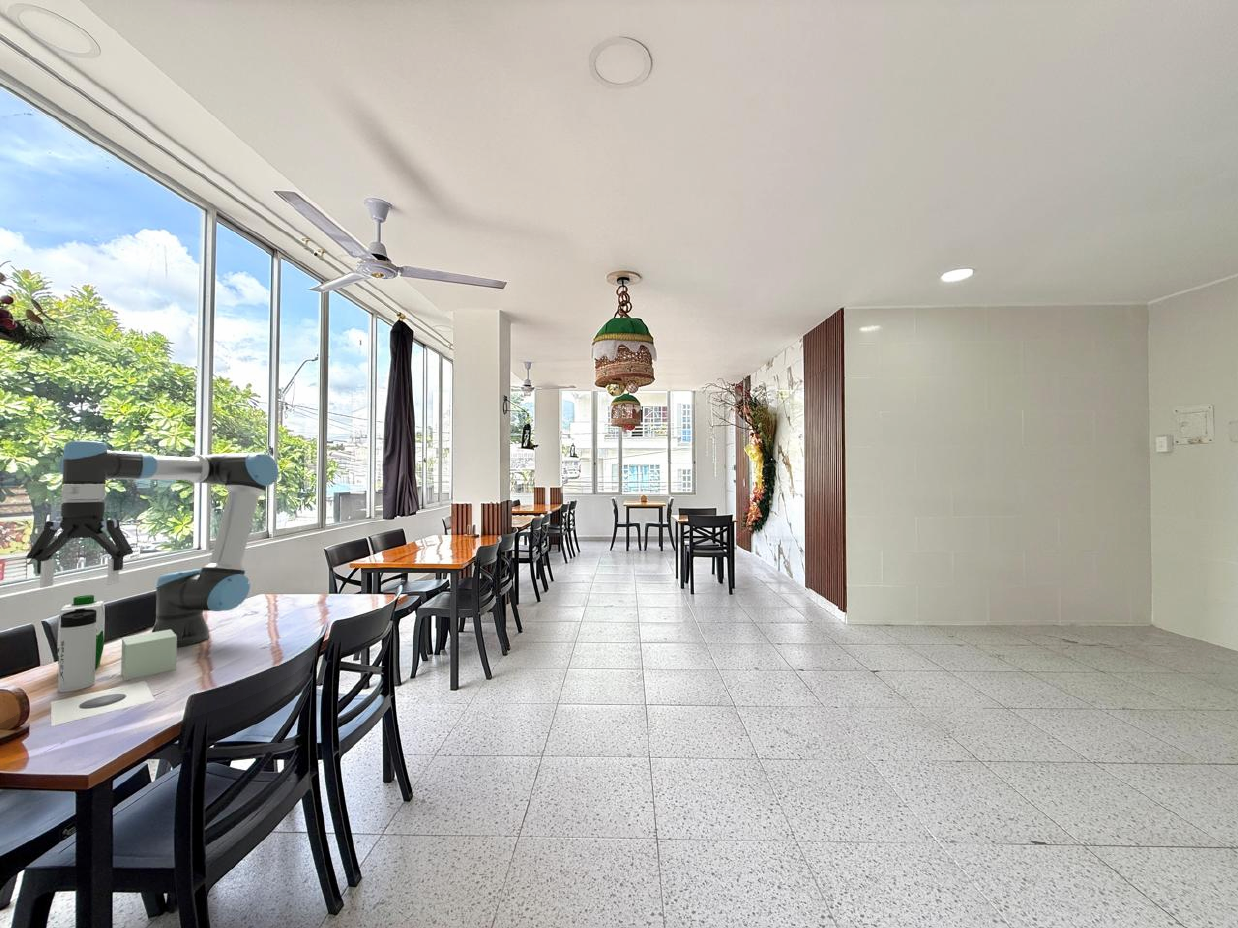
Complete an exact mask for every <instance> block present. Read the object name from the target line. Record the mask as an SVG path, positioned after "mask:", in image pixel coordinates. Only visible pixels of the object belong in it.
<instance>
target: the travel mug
mask: <svg viewBox="0 0 1238 928" xmlns="http://www.w3.org/2000/svg"><path fill="white" fill-rule="evenodd" d="M96 617H97V611H96V610H93V609H85V608H82V609H75V611H71V612H67V613H64V614H62V615H61V624H60V629H61V630H60V641H59V665H58V669H57V670H58V671H57V674H58V676H57V692H58V693H62V694H63V693H73V692H77V691H80V690H81V691H82V690H86V689H87V688H90V687H92V686H94V685H95V678H96V670H95V655H96V626H97V625H96V623H97V621H96Z"/></svg>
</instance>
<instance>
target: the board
mask: <svg viewBox="0 0 1238 928" xmlns="http://www.w3.org/2000/svg"><path fill="white" fill-rule="evenodd" d="M155 701H156V699H155V698H154V696H153V694H152V692H151V690H150V688H149V685H148V684H147V682H146V681H145V680H143V681H139V682H134V683H131V684H125V685H121V686H116V687H112V688H108V689H103V690H99V691H95V692H90V693H84V694H81V695H75V696H72V697H68V698H63V699H59V700H54V701H51V702H50V717H51V718H50V723H51V724H50V726H51V727H54V726H55V727H56V726H59V725H63V724H66V723H71V722H75V721H78V720H83V719H88V718H92V717H95V716H99V715H103V714H108V713H112V712H115V711H119V710H123V709H128V708H131V707H136V706H140V705H143V704H148V703H152V702H155Z"/></svg>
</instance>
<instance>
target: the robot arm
mask: <svg viewBox="0 0 1238 928" xmlns="http://www.w3.org/2000/svg"><path fill="white" fill-rule="evenodd" d="M63 448H64V449H63V453H62V454H63V456H62V457H61V458H60V459H59V461H58V464H57V465H58V466H57V469H58V471H59V473H60V474H61V475H62V485H61V486H62V488H61V501H64V502H62V503H61V505H60V506H61V507H60V516H61V518H62V519H61V521H59V520H48V521H45V522H44V527H43V531H42V532H41V534H40V535H39V536H38V538H37V539H36V541H35V543H34V544H33V546H32V547H31V549H30V550H29V552H28V553H27V555H26V558H27V559H31V560H34V561H35V560H36V561H37V564H36V565H37V566H36V567H37V568H36V573H37V574H38V575H39V574H40V579H39V580H40V582H39V588H40V589H41V588H43V589H44V588H47V587H51V586H52V587H53V586H54V577H55V573H54V571H55V559H53V558H52V557H53V556H55V554H56V553H57V552H59V550H60V549H62V548H63V547H64V546H65V545H66V544H67V543H68V542H69V541H70V540H72V539H89V538H90V539H92V540H94V541H95V542H96V543H97V544H98V545H99V546H100V547H102V549H103V550H105V552H106V553H108V554H109V555H110V558H108V559H107V579H106V580H107V581H106V582H107V584H106V585H113V584H118V583H119V580H120V579H119V578H120V571H121V570H123V568H124V557H126V556H129V555H132V554H133V553H134V550H133V549H132V547H131V545H130V544H129V542H128V540H127V538H126V536H125V535H124V533H123V531H122V530H121V528H120V521H119V519H118V518H115V519H108V520H104V515H105V506H106V505H105V502H104V500H105V499H106V480H155V481H156V480H169V481H170V480H173V481H179V480H180V481H188V482H191V483H194V484H201V483H202V484H211V485H219V486H224V488H225V490H226V491H227V492H228V494H227V498H226V501H225V504H224V509H223V512H222V516H221V518H220V519H221V520H220V523H219V527H218V530H217V534H216V536H215V537H216V538H215V540H214V545H213V548H212V552H211V556H210V559H209V561H208V563H207V564H205V565H204V566H202V567H201V568H197V569H190V570H183V571H177V572H171V573H166V574H162V575H160V576H159V577H158V578H157V583H156V587H155V589H156V592H155V593H156V597H155V600H156V602H155V614H156V615H155V622H154V625H153V627H152V629H151V632H150V633H152V632H158V631H164V630H170V629H171V630H172V631H173V632H174V633H175V634H176V636H177V648H179V647H185V646H189V645H193V644H196V643H200V642H202V641H205V640H207V639H208V638H210V629H209V626H208V624H207V622H206V619H205V616H204V611H207V612H208V611H209V612H222V611H231V610H233V609H236V608H237V607H239V605H241V604H243V602H244V601H245V600H246V598H247V597H248V596H249V593H250V589H251V583H250V582H249V581H250V580H249V578H248V577H247V576H246V575H245V573H246V569H245V568H244V566H242V564H243V560H244V555H245V551H246V547H247V543H248V541H249V535H250V532H251V529H252V525H253V521H254V516H255V512H256V509H257V505H258V502H259V497H261V496H262V495H264V494H265V493H266V492H267V491H266V490H267V488H268V486H271V485H273V484H274V483H276V481H277V479H278V476H279V468H278V465H277V463H276V462H275V459H274V458H273V457H272V456H271V455H269V454H266V453H262V452H255V451H254V452H253V451H252V452H232V453H231V452H227V453H216V454H215V453H214V454H194V455H191V456H190V457H188V456H164V455H153V454H152V453H148V452H141V451H126V450H125V451H124V450H123V451H122V450H120V451H119V450H109V449H108V445H107V443H106V442H103V441H93V440H70V441H66V442H65V444H64V447H63ZM103 528H105V529H106V530H107V532H108V534H109V536H110V538H109V536H107V534H106V532H104V530H103ZM59 529H62V531H61V532H60V533H59V534H58V535H57V536H56V534H57V532H58V531H59ZM55 536H56V538H55V539H54V540H53V538H54V537H55ZM111 539H112V540H111ZM52 540H53V541H52Z"/></svg>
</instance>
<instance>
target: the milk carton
mask: <svg viewBox="0 0 1238 928" xmlns="http://www.w3.org/2000/svg"><path fill="white" fill-rule="evenodd" d="M82 608H85V609H93V610H96V611H97V617H96V621H97V623H96V625H97V626H96V655H95V671H96V670H97V669H98V668H99V666H100V664H101V659H102V657H103V652H104V648H105V646H104V645H105V625H106V624H105V623H106V622H105V620H106V618H105V611H106V610H105V609H106V608H105V601H104V600H99V601H97V600H96V601H95V594H89V595H88V594H87V595H80V596H79V595H78V596H74V597H73V603H72V604H71V603H70V604H66V605H64V606H63V607H62V608H61V610H60V611H59V615H58V619H57V620H58V621H57V622H58V626H57V664H58V666H59V641H60V630H61V629H60V624H61V615H62V614H64V613H67V612H71V611H75V609H82Z"/></svg>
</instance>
